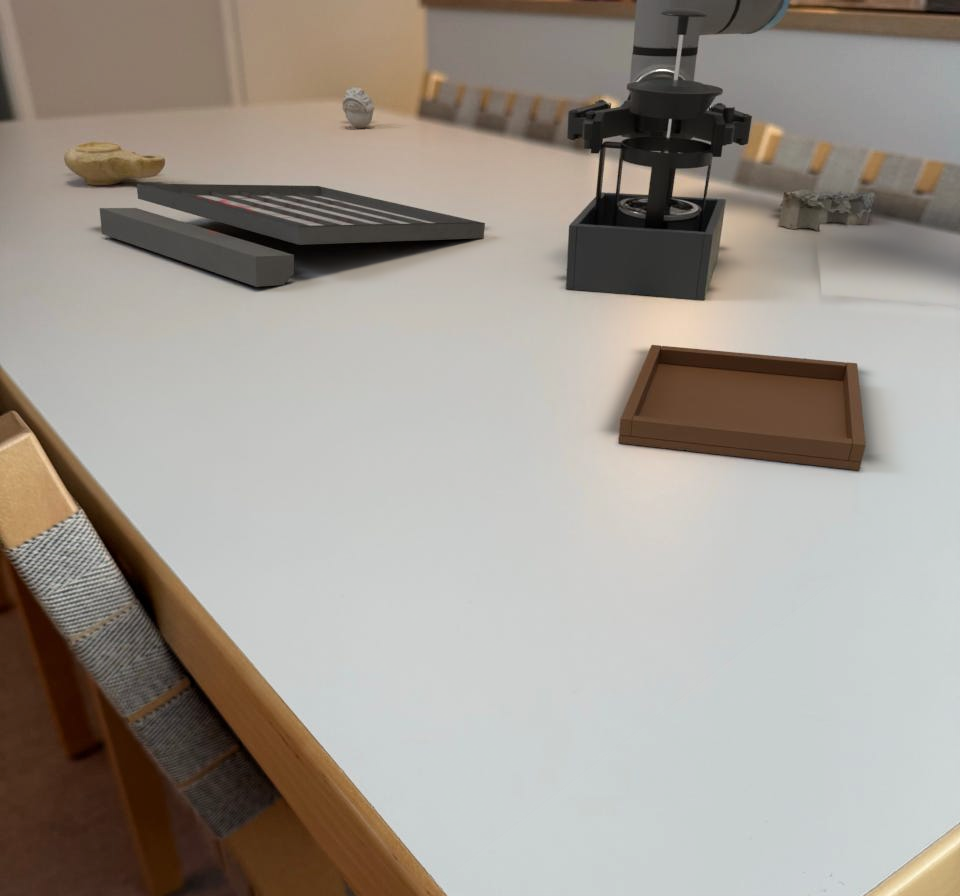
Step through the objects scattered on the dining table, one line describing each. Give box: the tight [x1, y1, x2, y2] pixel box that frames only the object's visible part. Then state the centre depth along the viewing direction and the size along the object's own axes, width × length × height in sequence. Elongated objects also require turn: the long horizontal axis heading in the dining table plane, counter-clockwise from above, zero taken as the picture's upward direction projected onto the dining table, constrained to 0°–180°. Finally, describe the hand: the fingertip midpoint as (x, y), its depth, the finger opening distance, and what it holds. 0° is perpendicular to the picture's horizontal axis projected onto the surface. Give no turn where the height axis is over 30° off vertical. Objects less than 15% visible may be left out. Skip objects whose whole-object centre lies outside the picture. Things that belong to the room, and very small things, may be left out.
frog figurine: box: [341, 86, 375, 129], centre depth 184 cm, size 6×7×7 cm
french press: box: [593, 8, 724, 232], centre depth 93 cm, size 12×9×23 cm
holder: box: [565, 191, 727, 301], centre depth 98 cm, size 14×17×6 cm
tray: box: [617, 344, 867, 471], centre depth 69 cm, size 16×16×2 cm
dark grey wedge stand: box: [99, 183, 486, 288], centre depth 112 cm, size 32×7×31 cm
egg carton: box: [778, 188, 875, 232], centre depth 117 cm, size 11×8×4 cm
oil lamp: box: [63, 141, 166, 186], centre depth 139 cm, size 11×14×5 cm
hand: (657, 139), depth 89 cm, fingers closed on french press, 11 cm apart
